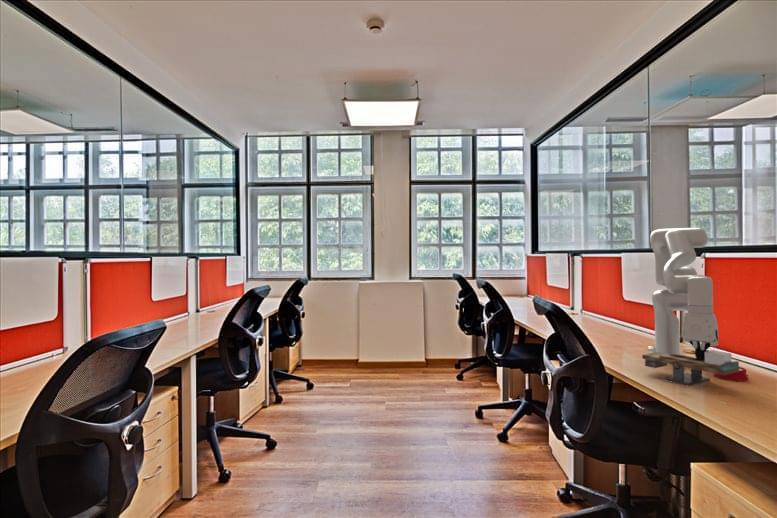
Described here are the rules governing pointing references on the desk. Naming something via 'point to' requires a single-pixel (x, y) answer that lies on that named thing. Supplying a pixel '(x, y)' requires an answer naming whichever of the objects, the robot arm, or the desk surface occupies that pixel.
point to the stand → (686, 376)
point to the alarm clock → (734, 375)
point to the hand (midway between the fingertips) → (700, 359)
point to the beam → (688, 363)
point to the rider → (717, 358)
